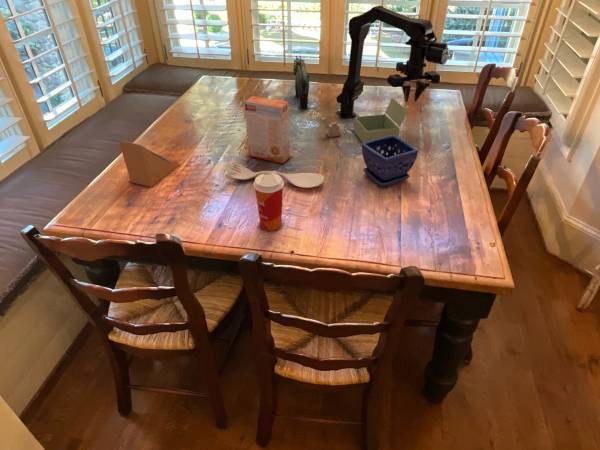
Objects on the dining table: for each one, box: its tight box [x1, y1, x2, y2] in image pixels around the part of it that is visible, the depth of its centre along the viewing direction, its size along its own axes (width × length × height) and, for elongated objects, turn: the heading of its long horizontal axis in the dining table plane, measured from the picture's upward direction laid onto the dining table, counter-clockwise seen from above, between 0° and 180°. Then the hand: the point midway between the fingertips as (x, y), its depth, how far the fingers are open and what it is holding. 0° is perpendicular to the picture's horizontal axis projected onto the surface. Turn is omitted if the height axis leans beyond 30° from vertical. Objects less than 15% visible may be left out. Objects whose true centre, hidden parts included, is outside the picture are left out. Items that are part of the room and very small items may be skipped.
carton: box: [353, 113, 400, 143], centre depth 168 cm, size 14×13×6 cm
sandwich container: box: [119, 140, 178, 188], centre depth 144 cm, size 9×15×15 cm, turn 158°
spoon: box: [224, 162, 325, 189], centre depth 143 cm, size 9×32×4 cm, turn 79°
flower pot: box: [361, 135, 419, 188], centre depth 142 cm, size 13×13×12 cm
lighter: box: [321, 116, 341, 138], centre depth 168 cm, size 7×2×8 cm, turn 103°
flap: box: [384, 97, 408, 128], centre depth 166 cm, size 14×6×1 cm
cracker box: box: [244, 95, 291, 164], centre depth 151 cm, size 14×6×21 cm, turn 65°
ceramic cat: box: [292, 55, 310, 111], centre depth 193 cm, size 20×6×20 cm, turn 6°
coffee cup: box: [253, 173, 285, 232], centre depth 121 cm, size 8×8×15 cm
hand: (410, 101), depth 164 cm, fingers open, 3 cm apart
